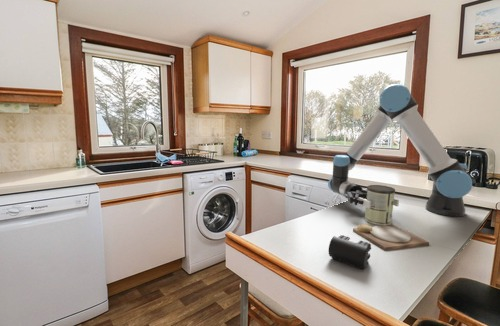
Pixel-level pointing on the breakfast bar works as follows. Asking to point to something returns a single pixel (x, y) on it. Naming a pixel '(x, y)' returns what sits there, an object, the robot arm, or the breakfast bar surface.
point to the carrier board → (389, 237)
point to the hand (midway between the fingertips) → (384, 204)
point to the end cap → (350, 251)
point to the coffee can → (380, 204)
